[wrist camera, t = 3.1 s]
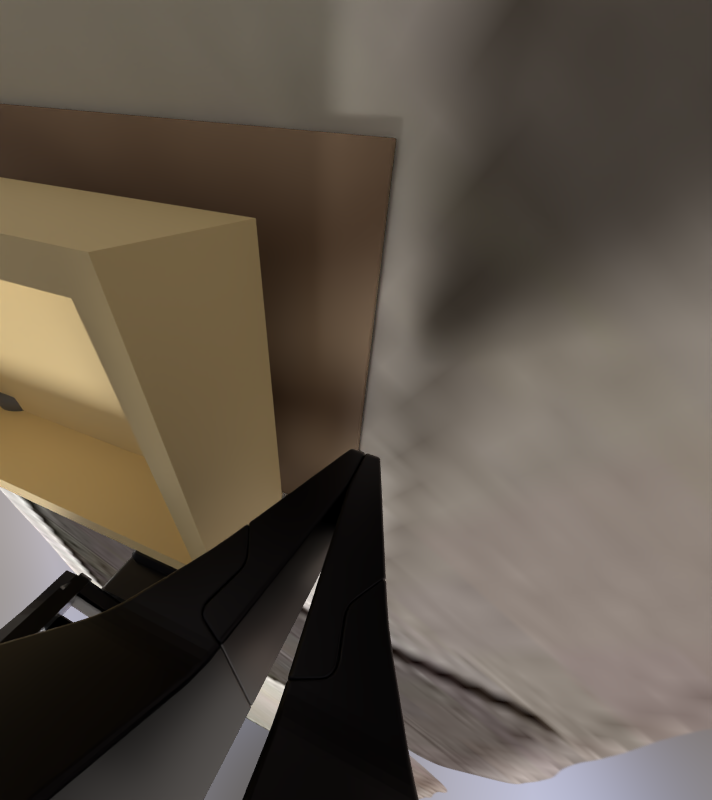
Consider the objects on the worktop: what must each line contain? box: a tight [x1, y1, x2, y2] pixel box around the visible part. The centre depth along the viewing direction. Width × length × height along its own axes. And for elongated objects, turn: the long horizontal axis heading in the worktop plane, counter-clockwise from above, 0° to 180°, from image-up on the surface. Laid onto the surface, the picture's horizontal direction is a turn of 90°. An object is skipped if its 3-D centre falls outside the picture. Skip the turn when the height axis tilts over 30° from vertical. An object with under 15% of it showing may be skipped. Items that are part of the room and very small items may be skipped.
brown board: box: [0, 104, 396, 494], centre depth 15 cm, size 14×32×1 cm, turn 86°
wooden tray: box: [0, 177, 282, 569], centre depth 11 cm, size 11×17×5 cm, turn 86°
